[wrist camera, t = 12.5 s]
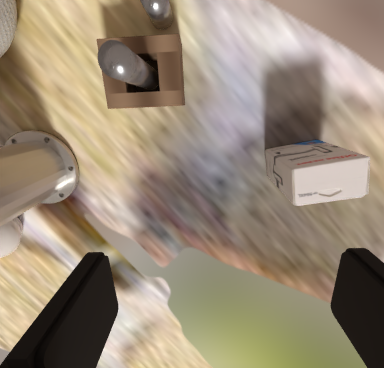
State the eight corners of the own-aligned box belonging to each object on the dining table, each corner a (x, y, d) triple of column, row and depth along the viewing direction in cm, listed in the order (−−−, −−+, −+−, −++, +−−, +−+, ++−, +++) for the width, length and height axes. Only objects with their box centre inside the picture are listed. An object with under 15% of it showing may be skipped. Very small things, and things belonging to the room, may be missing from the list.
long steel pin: (138, 67, 32) (94, 40, 19) (158, 66, 32) (129, 38, 18) (140, 90, 33) (101, 79, 20) (160, 89, 33) (133, 77, 20)
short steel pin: (152, 30, 30) (141, 12, 25) (149, 3, 29) (137, -21, 24) (173, 28, 30) (167, 10, 24) (172, 2, 29) (165, -23, 23)
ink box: (318, 138, 34) (374, 153, 23) (318, 168, 36) (371, 196, 25) (263, 148, 35) (292, 168, 24) (266, 177, 37) (294, 207, 26)
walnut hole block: (120, 108, 34) (108, 108, 29) (112, 49, 31) (96, 39, 26) (184, 105, 33) (182, 105, 29) (181, 45, 31) (178, 33, 26)
